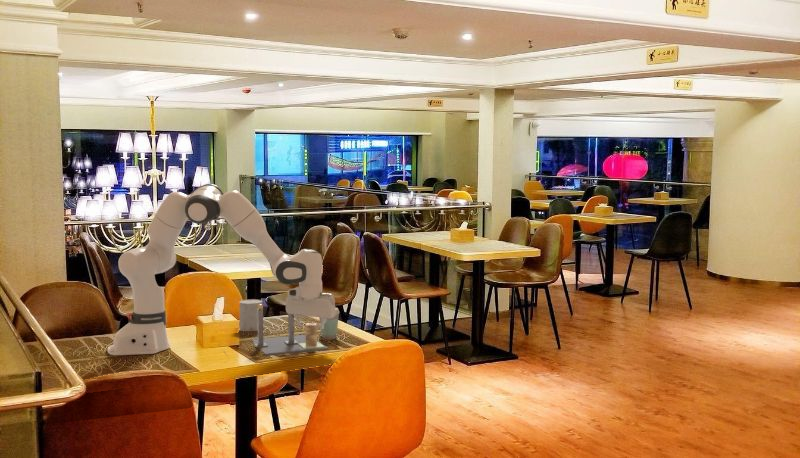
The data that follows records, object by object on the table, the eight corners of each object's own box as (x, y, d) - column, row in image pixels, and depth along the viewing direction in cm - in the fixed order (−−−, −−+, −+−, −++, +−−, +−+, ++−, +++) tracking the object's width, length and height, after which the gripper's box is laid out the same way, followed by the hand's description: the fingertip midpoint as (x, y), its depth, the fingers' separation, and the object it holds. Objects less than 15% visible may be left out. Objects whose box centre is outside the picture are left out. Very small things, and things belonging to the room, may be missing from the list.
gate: (256, 347, 313) (255, 305, 311) (253, 345, 317) (253, 303, 315) (298, 344, 319) (298, 302, 317) (295, 341, 323) (295, 300, 321)
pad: (304, 349, 311) (304, 348, 311) (298, 344, 318) (298, 343, 318) (324, 347, 314) (324, 346, 314) (318, 342, 321) (318, 341, 321)
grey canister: (235, 332, 342) (235, 302, 341) (246, 327, 351) (245, 298, 350) (256, 333, 340) (256, 304, 338) (266, 328, 349) (266, 300, 347)
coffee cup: (341, 336, 336) (341, 306, 335) (337, 341, 328) (337, 311, 326) (320, 335, 337) (320, 306, 336) (316, 340, 328) (316, 310, 327)
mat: (265, 355, 304) (265, 353, 304) (251, 341, 326) (251, 339, 326) (327, 349, 313) (327, 347, 313) (310, 336, 335) (310, 334, 335)
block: (305, 346, 314) (305, 325, 313) (306, 343, 318) (306, 323, 317) (316, 346, 314) (316, 325, 313) (317, 343, 318) (317, 323, 317)
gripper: (338, 292, 313) (338, 328, 314) (292, 288, 321) (292, 323, 323) (330, 295, 307) (330, 332, 308) (283, 290, 315) (283, 326, 317)
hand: (310, 327), depth 316 cm, fingers open, 8 cm apart
